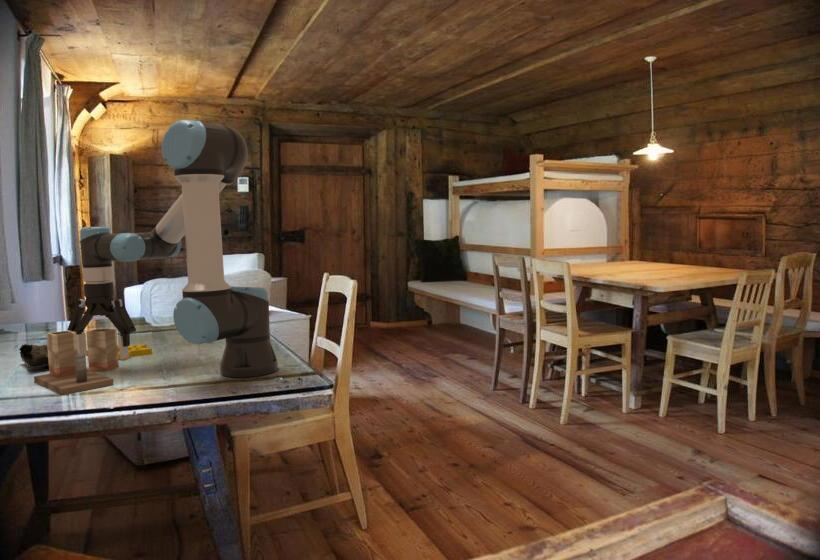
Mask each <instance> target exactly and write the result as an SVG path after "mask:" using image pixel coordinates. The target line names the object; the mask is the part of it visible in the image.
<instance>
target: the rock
mask: <svg viewBox="0 0 820 560" xmlns="http://www.w3.org/2000/svg"><path fill="white" fill-rule="evenodd" d="M18 351H19V354H20V355H19V356H20V358H21V362H24V364H25V365H26V366H27V367H34V368H35V367H42V366H49V361H48V348H47V344H42V345H41V344H40V345H36V344H29V343H24V344H21V346H20V347H19V350H18Z"/></svg>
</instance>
